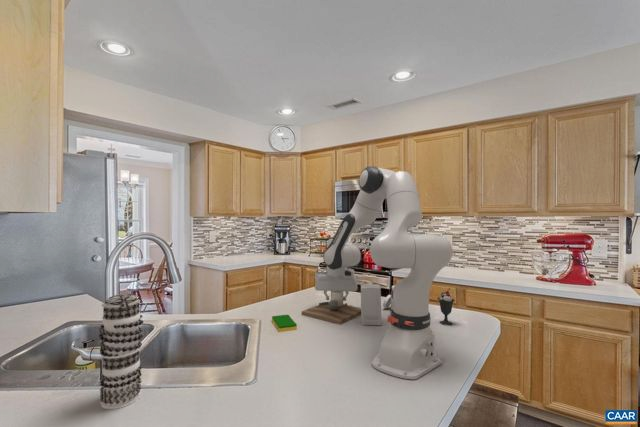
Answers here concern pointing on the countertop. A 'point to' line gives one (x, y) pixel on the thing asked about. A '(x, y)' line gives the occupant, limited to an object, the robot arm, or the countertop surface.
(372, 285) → the skincare box
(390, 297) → the spread jar
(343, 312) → the wooden cutting board
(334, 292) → the lever
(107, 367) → the decorative candle
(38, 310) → the countertop surface
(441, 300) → the sundae
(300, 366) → the countertop surface
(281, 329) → the dish sponge
